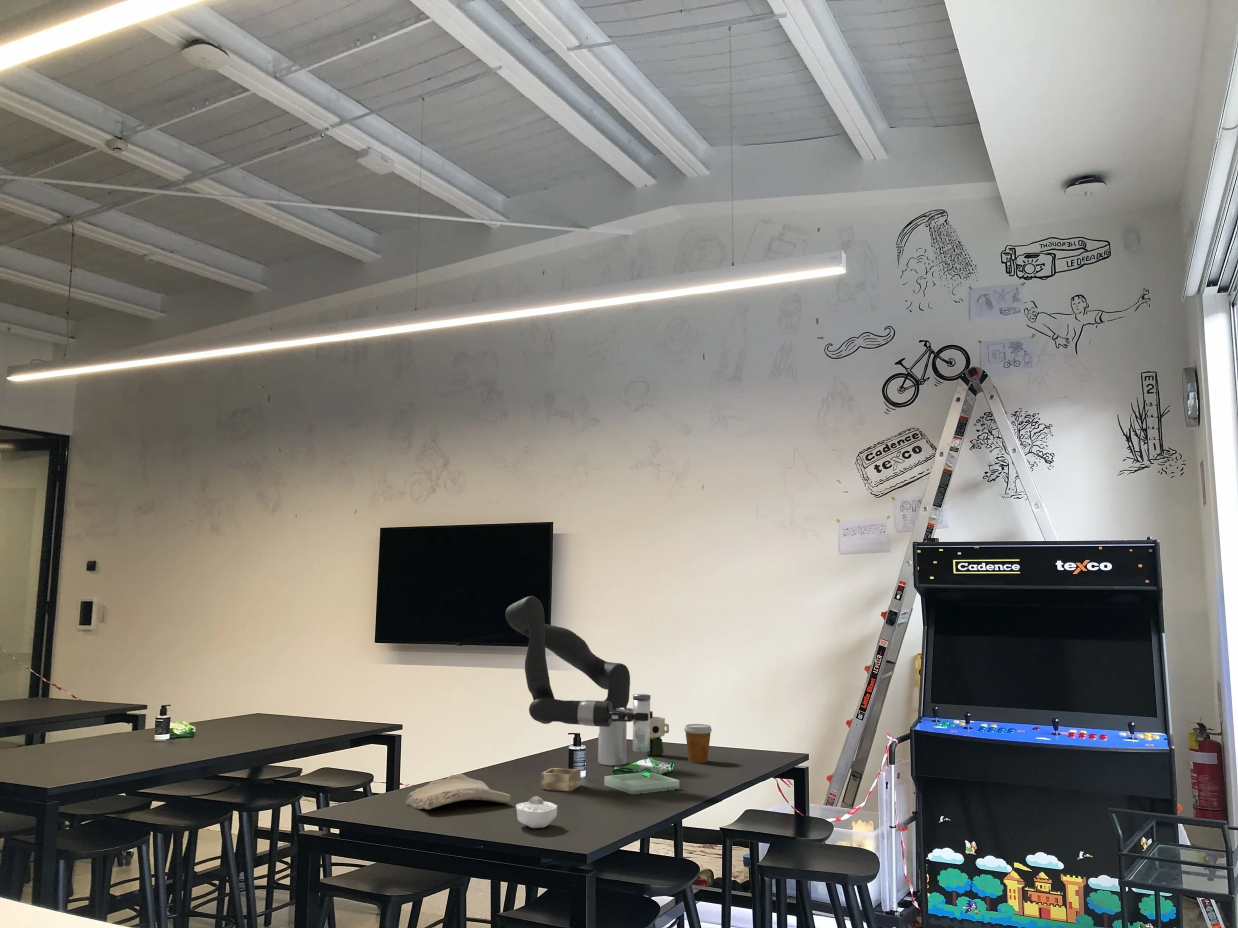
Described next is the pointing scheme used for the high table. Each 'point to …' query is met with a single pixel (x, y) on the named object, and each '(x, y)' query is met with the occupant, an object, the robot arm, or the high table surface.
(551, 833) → the high table surface
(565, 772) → the holder
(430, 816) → the high table surface
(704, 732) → the disposable coffee cup
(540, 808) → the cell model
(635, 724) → the canister
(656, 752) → the character mug
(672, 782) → the tray
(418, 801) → the beige pottery shard
